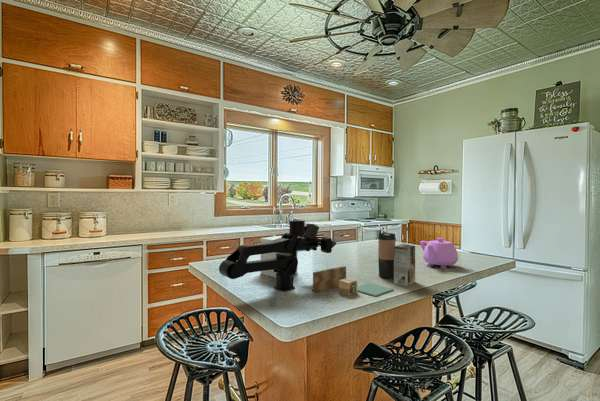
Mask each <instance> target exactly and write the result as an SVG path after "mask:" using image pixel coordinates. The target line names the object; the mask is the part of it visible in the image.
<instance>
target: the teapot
mask: <svg viewBox="0 0 600 401" xmlns="http://www.w3.org/2000/svg"><path fill="white" fill-rule="evenodd" d="M419 243H420V244H419V245H420V248H421V249H422V251H423V253H422V259H423V260H424V261H425V263H428V264H427V265H426V266H427V267H434V265H435V266H436V265H437V266H440V269H443V270H447V267H449V266H450V267H449V268H452V267H454V265H455V264H457V262H458V261H459V255H458V254H459V253H458V251H457V248H456V246H455V245H454V243H453V242H452V241H447V240H445V238H443V237H437V238H436V240H429V241H427V240H420V242H419ZM425 244H426V245H425Z"/></svg>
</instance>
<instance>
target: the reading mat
mask: <svg viewBox="0 0 600 401" xmlns="http://www.w3.org/2000/svg"><path fill="white" fill-rule="evenodd" d="M393 291H394V288H391V287H388V286H383V285H380V284H376V283H372V282H367V283H363V284H359V285H357V293H361V294H365V295H367V296H372V297H374V298H375V297H379V296H381V295H382V296H383V295H384V294H388V293H389V292H390V293H391V292H393Z"/></svg>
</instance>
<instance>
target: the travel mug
mask: <svg viewBox="0 0 600 401" xmlns="http://www.w3.org/2000/svg"><path fill="white" fill-rule="evenodd" d="M395 246H396V234H395V233H391V232H380V233H378V248H377V249H378V250H377V251H378V255H377V256H378V258H377V259H378V277H379V278H381V279H387V280H391V279H394V247H395Z"/></svg>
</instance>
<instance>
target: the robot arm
mask: <svg viewBox="0 0 600 401" xmlns="http://www.w3.org/2000/svg"><path fill="white" fill-rule="evenodd" d="M305 222H306V221H305V220H304V219H303V220H301V219H293V220H289V222H288V224H289V229H288V232H289V233H288V232H286V233H284V234H283V235H281V236H282V237H281V238H278V239H275V240H273V241H272V242H268V243H254V244H253V243H252V244H241V245H239V246H238V247H237V248H236V250H235V251H233V252H231V254H229V255H228V256H227V257H226V259H225V260H222V261H221V263H220V264H219V267H218V271H219V274H220V275H221V276H223V277H226V278H227V279H231V280H235V279H238V278H242V277H244V276H245V275H247V274H252V273H256V272H257V273H258V272H261V271H266V270H274V272H276V273H277V274H276V278H275V286H273V288H274V289H276V290H279V291H281V292H285V291H290V290H293V289H296V286H294V276H293V275H296V274H295V273H296V269H297V270H298V265H299V260H298V257H297V258H296V252H297V253H298V252H303V251H305V252H310V251H316V252H317V250H318V247H319V246H320V251H321V252H322V253H325V254H331V253H332V251H333V250H332V248H334V247H335V246H336V245H337V242H336V241H333V239H332V238H331V237H325V236H324V237H322V238H319V237H318V236H317V235H318V231H319V230H320V226H318V225H316V224H314V223H306V224H305ZM290 239H291V240H290ZM273 252H276V257H275V258H273V259H265V260H261V259H258V260H249V261H248V259H249V258H250V257H252V256H258V255H259V256H260V255H261V254H266V253H273ZM277 253H281V254H277Z"/></svg>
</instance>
